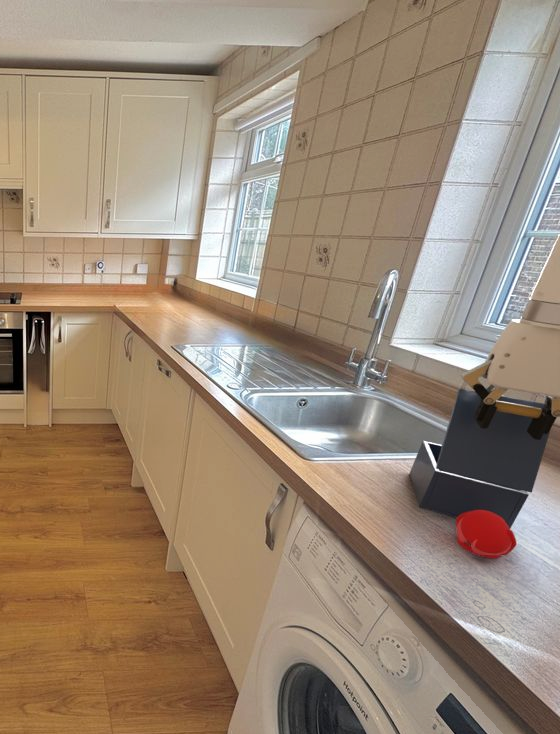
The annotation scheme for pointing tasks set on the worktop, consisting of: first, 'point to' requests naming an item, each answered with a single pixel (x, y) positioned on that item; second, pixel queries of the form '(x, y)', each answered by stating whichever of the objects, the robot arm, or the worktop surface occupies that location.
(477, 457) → the lid
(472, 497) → the chest
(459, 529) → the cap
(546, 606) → the worktop surface
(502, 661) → the worktop surface
